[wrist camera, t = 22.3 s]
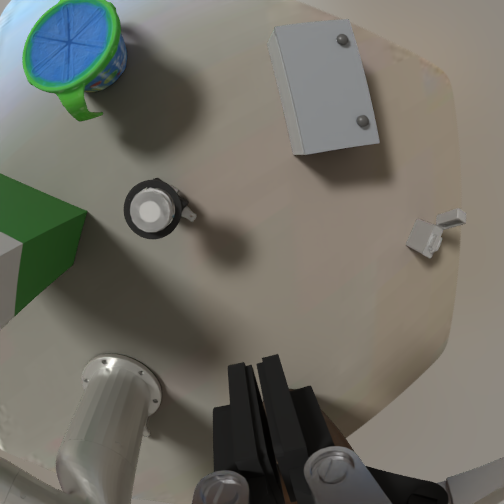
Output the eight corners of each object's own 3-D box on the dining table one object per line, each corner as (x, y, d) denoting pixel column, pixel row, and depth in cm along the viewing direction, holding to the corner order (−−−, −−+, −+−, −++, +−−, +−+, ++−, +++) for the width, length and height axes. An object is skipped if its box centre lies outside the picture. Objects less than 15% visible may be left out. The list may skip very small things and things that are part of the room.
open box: (355, 144, 37) (372, 143, 32) (293, 154, 36) (303, 154, 32) (330, 38, 32) (343, 25, 28) (266, 44, 32) (273, 29, 28)
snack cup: (140, 119, 33) (113, 107, 24) (61, 131, 33) (16, 127, 23) (144, 4, 29) (125, -36, 19) (68, 20, 28) (32, -8, 18)
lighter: (413, 249, 41) (447, 268, 34) (405, 245, 41) (438, 263, 34) (433, 203, 40) (469, 214, 32) (425, 198, 40) (461, 208, 32)
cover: (377, 143, 31) (381, 143, 30) (304, 154, 32) (306, 154, 30) (347, 21, 27) (350, 17, 26) (274, 29, 28) (274, 25, 26)
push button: (208, 199, 37) (205, 214, 27) (181, 235, 38) (169, 262, 28) (162, 165, 35) (142, 168, 26) (136, 203, 36) (109, 219, 27)
